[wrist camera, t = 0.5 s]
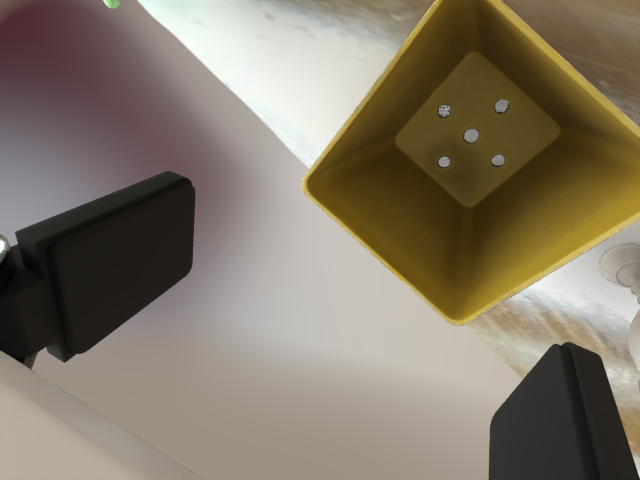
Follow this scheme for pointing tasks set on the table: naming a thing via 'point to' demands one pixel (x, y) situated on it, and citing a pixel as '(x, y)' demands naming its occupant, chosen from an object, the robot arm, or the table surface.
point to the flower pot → (479, 162)
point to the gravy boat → (112, 3)
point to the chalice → (626, 285)
